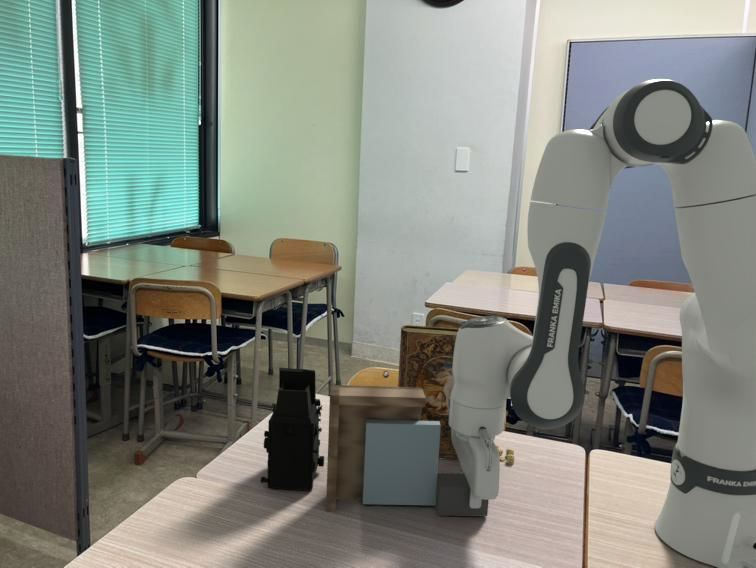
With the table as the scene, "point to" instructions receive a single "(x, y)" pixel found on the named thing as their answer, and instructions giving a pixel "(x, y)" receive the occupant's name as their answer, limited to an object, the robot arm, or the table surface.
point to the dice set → (509, 455)
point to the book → (430, 375)
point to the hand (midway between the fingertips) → (470, 496)
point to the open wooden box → (361, 431)
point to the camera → (294, 432)
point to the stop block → (456, 496)
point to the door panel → (401, 462)
